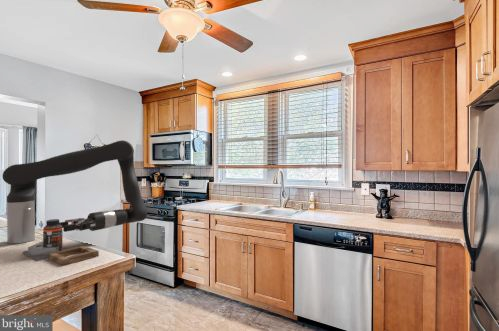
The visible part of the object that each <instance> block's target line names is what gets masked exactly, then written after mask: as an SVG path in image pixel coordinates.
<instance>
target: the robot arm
mask: <svg viewBox="0 0 499 331" xmlns="http://www.w3.org/2000/svg"><path fill="white" fill-rule="evenodd" d="M134 154H135V149H134V147H133V144H132V143H130V142H129V141H128V140H117V141H114V142H112V143H108V144H105V145H103V146H97V147H91V148H88V149H86V148H85V149H82V150H81V149H80V150H76V151H72V152H67V153H63V154H59V155H55V156H52V157H49V158H45V159H43V160H39V161H33V162H26V163H18V164H13V165H10V166H8V167H6V168H5V169H4V171H3V173H2V180H3V181H4V182H5V183H6V184H7V185H10V187H9V188H10V189H9V193H8V194H7V196H6V227H7V228H6V232H7V233H6V234H7V235H6V236H7V237H6V238H7V239H6V241H7V244H11V245H13V244H22V243H28V242H31V241H34V240H36V219H35V217H36V211H35V209H36V207H35V204H36V202H35V201H36V200H35V197H36V193H37V180H41V179H45V178H49V177H57V176H63V175H69V174H74V173H78V172H82V171H86V170H88V169H91V168H93V167H95V166H97V165H99V164H103V163H105V162H112V161H115V160H116V161H117V162H118V164H119V168H120V173H121V177H122V179H121V180H122V181H121V182H122V188H123V189H122V190H123V193H124V198H125V201H126V203H128V204H130V205H131V207H129V208H125V209H122V208H121V209H114V210H113V209H112V210H104V211H97V212H96V211H95V212H89V213H88V215H87V217H86V218H84V217H79V218H73V219H72V218H71V219H66V220H64V221H59V222H60V223H59V224H60V225H62V232H64V233H65V232H72V231H81V232H82V231H86V230H89V231H91V232H93V231H94V232H95V231H100V230H104V229H110V228H113V227H117V226H118V227H119V226H122V225H124V224H130V223H137V222H142V221H144V220H146V219H147V217H148V208H147V205H146V204H145V202H144V200H143V198H142V195H141V190H140V185H139V181H138V178H137V174H136V169H135V163H134V162H135V161H134V160H135V158H134V157H135V155H134ZM70 223H71V224H70Z"/></svg>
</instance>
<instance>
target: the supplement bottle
mask: <svg viewBox="0 0 499 331" xmlns="http://www.w3.org/2000/svg"><path fill="white" fill-rule="evenodd" d="M60 222H61V221H60V219H59V218H58V219H57V218H53V219H47V220H46V224H45V226H43V228H42V241H43V247H47V246H59V250H60V249H61V250H62V249H63V228H62V225H60V224H59V223H60Z"/></svg>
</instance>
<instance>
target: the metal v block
mask: <svg viewBox="0 0 499 331" xmlns="http://www.w3.org/2000/svg"><path fill="white" fill-rule="evenodd" d="M62 250H63V249H62V248H61V249H60V250H59V246H47V247H43V240H42V241H39V242H37V243H35V244H33V245H31V246H28V247H27V250H24V251H22V254H24V255H25V256H27V257H29V258H31V259H33V260H35V261H37V262H39V261H43V260H47V259H49V258H48V254H49V253H53V252H57V251H62Z"/></svg>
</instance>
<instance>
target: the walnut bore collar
mask: <svg viewBox="0 0 499 331" xmlns="http://www.w3.org/2000/svg"><path fill="white" fill-rule="evenodd" d="M61 250H62V251H57V252H53V253H49V254H48V259H49V260H51V261H53V262H54V263H56V264H59V265H61V266H67V265H71V264H76V263H77V262H81V261H86V260H89V259H92V258H96V256H97V257H99V254H100V252H99V250H96V249H95V248H94V249H93V248H91V247H88V246H85V245H79V246H76V247H71V248H68V249H67V248H66V249H61Z"/></svg>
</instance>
